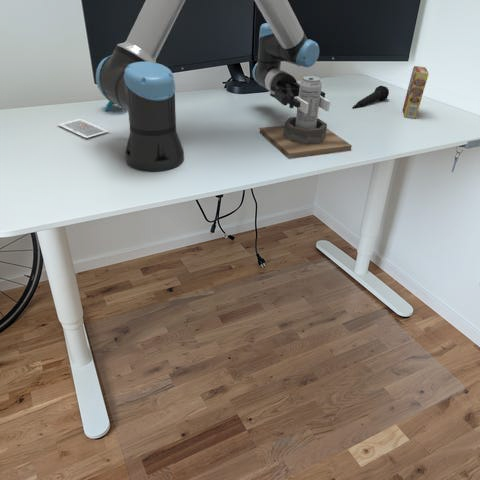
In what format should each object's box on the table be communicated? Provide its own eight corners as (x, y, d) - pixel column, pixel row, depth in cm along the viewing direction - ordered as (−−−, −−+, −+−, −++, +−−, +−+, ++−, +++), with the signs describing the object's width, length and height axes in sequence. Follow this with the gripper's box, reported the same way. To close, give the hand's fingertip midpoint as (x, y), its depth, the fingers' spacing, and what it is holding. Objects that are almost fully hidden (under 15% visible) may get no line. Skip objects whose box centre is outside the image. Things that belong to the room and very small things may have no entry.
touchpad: (80, 121, 143) (79, 115, 142) (109, 134, 136) (109, 127, 134) (58, 127, 138) (56, 120, 137) (86, 141, 131) (85, 134, 129)
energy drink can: (317, 128, 136) (324, 76, 128) (313, 135, 131) (320, 82, 123) (297, 125, 138) (303, 74, 129) (292, 132, 133) (298, 79, 124)
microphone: (355, 118, 165) (388, 101, 174) (361, 105, 160) (394, 88, 170) (344, 110, 167) (377, 93, 176) (350, 96, 162) (383, 80, 172)
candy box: (417, 119, 157) (429, 73, 148) (404, 117, 157) (415, 71, 149) (414, 110, 164) (426, 66, 155) (402, 109, 165) (413, 65, 156)
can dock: (350, 150, 132) (354, 131, 129) (288, 158, 125) (290, 139, 122) (316, 126, 147) (318, 109, 144) (259, 132, 141) (260, 114, 137)
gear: (130, 109, 148) (105, 87, 143) (118, 123, 149) (93, 102, 144) (128, 103, 158) (104, 83, 153) (117, 116, 159) (93, 96, 154)
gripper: (306, 93, 148) (345, 117, 131) (252, 98, 142) (285, 124, 125) (309, 69, 144) (349, 91, 127) (253, 73, 138) (288, 96, 121)
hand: (317, 107), depth 126 cm, fingers closed on energy drink can, 6 cm apart
